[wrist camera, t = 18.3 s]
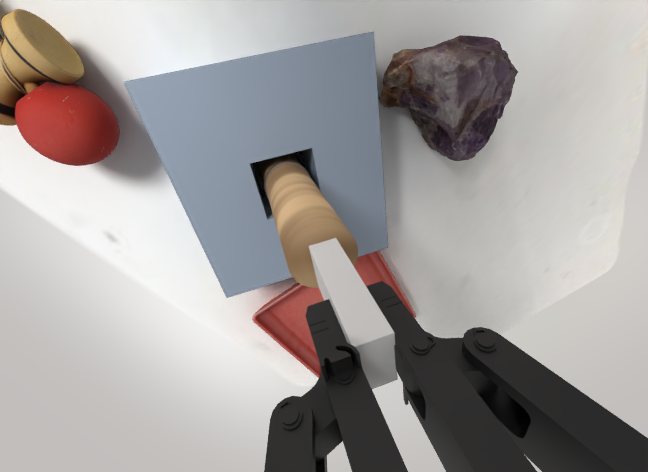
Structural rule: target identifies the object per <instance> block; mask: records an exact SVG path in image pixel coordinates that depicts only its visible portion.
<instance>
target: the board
mask: <svg viewBox="0 0 648 472" xmlns="http://www.w3.org/2000/svg"><path fill="white" fill-rule="evenodd" d="M124 84H125V86H126V88H127V90H128V92H129V94H130V96H131V99H132V101H133V103H134V105H135V107H136V109H137V111H138V113H139V115H140V117H141V120H142V122H143V124H144V126H145V128H146V130H147V132H148V134H149V136H150V138H151V140H152V143H153V145H154V147H155V149H156V151H157V153H158V155H159V157H160V159H161V161H162V163H163V166H164V168H165V170H166V172H167V174H168V176H169V178H170V180H171V182H172V184H173V186H174V189H175V191H176V193H177V195H178V197H179V199H180V201H181V203H182V205H183V207H184V209H185V212H186V214H187V216H188V218H189V220H190V222H191V224H192V226H193V228H194V230H195V232H196V235H197V237H198V239H199V241H200V243H201V245H202V247H203V249H204V251H205V253H206V255H207V258H208V260H209V262H210V264H211V266H212V268H213V270H214V272H215V274H216V276H217V278H218V281H219V283H220V285H221V287H222V289H223V291H224V293H225V295H226V297H227V298H228V297H231V296H234V295H238V294H241V293H244V292H247V291H250V290H254V289H257V288H260V287H263V286H266V285H270V284H273V283H276V282H279V281H282V280H286V279H289V278H292V276H291V274H290V272H289V269H288V266H287V262H286V259H285V255H284V252H283V248H282V245H281V241H280V238H279V234H278V231H277V227H276V224H275V220H274V217H273V213H272V209H271V206H270V202H269V199H268V197H267V195H264V196H262V195H261V192H260V189H259V186H258V183H257V179H256V176H255V173H254V170H253V167H252V163H254V162H258V161H262V160H266V159H270V158H274V157H278V156H282V155H286V154H290V153H294V152H298V151H302V153H303V158H304V163H305V167H306V170H307V171H308V173H309V175H310V177H311V179H312V180H313V182H314V183H315V184H316V186H317V187H318V189H319V190H320V191H321V193H322V194H323V196H324V197H325V198H326V200H327V201H328V203H329V204H330V205H331V207H332V208H333V209H334V211H335V212H336V214H337V215H338V216H339V218H340V219H341V221H342V222H343V223H344V225H345V226H346V228H347V229H348V230H349V232H350V233H351V234H352V236H353V237H354V239H355V241H356V243H357V246H358V257H359V256H362V255H365V254H369V253H372V252H375V251H378V250H381V249H385V248H388V238H387V223H386V209H385V194H384V179H383V164H382V149H381V135H380V120H379V105H378V90H377V75H376V60H375V46H374V32H369V33H364V34H359V35H354V36H349V37H344V38H339V39H334V40H329V41H324V42H319V43H314V44H309V45H304V46H299V47H295V48H290V49H285V50H280V51H275V52H270V53H265V54H260V55H255V56H250V57H245V58H240V59H235V60H230V61H225V62H220V63H215V64H210V65H205V66H200V67H195V68H190V69H185V70H180V71H175V72H170V73H165V74H160V75H155V76H150V77H145V78H140V79H135V80H130V81H125V82H124Z"/></svg>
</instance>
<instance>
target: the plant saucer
mask: <svg viewBox="0 0 648 472" xmlns="http://www.w3.org/2000/svg"><path fill="white" fill-rule="evenodd" d="M354 268H355V269H356V271H357V273H358V274H359V276H360V278H361V279H362V281H363V282H364V284H365V286H368V285H371V284H374V283H377V282H380V281H383V282H384V283H386V284H388V285H389V286H391V287H392V288H393V290H394V291H395V292H396V294H397V296H398V297H399V298H400V299H401V301H402V303H404V305H405V306H406V307H407V309H408V310H409V312H410V313H411V314H412V316H413V317H414V318H415V317H416V314H415V312H414V310H413V309H412V307H411V305H410V304H409V302H408V300H407V298H406V297H405V295H404V293H403V291H402V290H401V288H400V286H399V284H398V283H397V281H396V279H395V277H394V276H393V274H392V272H391V271H390V269H389V267H388V266H387V264H386V262H385V261H384V259H383V257H382V255H381V253H380V252H379V250H378V251H375V252H372V253H369V254H365V255H362V256H359V257H357V261H356V264H355V266H354ZM322 301H324V299H323V296H322V294H321V291H320V289H319V288H311V287H307V286H304V285H302V284H300V283H297V284H295V285H294V286H292V287H291V288H289V289H288V290H286V291H285V292H283V293H282V294H280V295H279V296H277V297H276V298H274V299H273V300H271V301H270V302H268V303H267V304H265V305H264V306H263V307H262V308H261V309H259V310H258V311H257V312H256V313H255V314H254V315H253V317H252V320H253V321H254V323H256V324H257V325H258V326H259V327H260V328H261V329H263V330H264V331H265V332H266V333H267V334H268V335H270V336H271V337H272V338H273V339H274V340H275V341H276V342H278V343H279V344H280V345H281V346H282V347H283V348H285V349H286V350H287V351H288V352H289V353H290V354H292V355H293V356H294V357H295V358H296V359H297V360H299V361H300V362H301V363H302V364H303V365H304V366H306V367H307V368H308V369H309V370H310V371H311V372H312V373H314V374H315V375H316V376H317V377H320V372H321V367H320V363H319V360H318V356H317V353H316V350H315V346H314V343H313V340H312V336H311V333H310V329H309V326H308V323H307V319H306V311H307V307H308V306H310V305H313V304H316V303H319V302H322Z"/></svg>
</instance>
